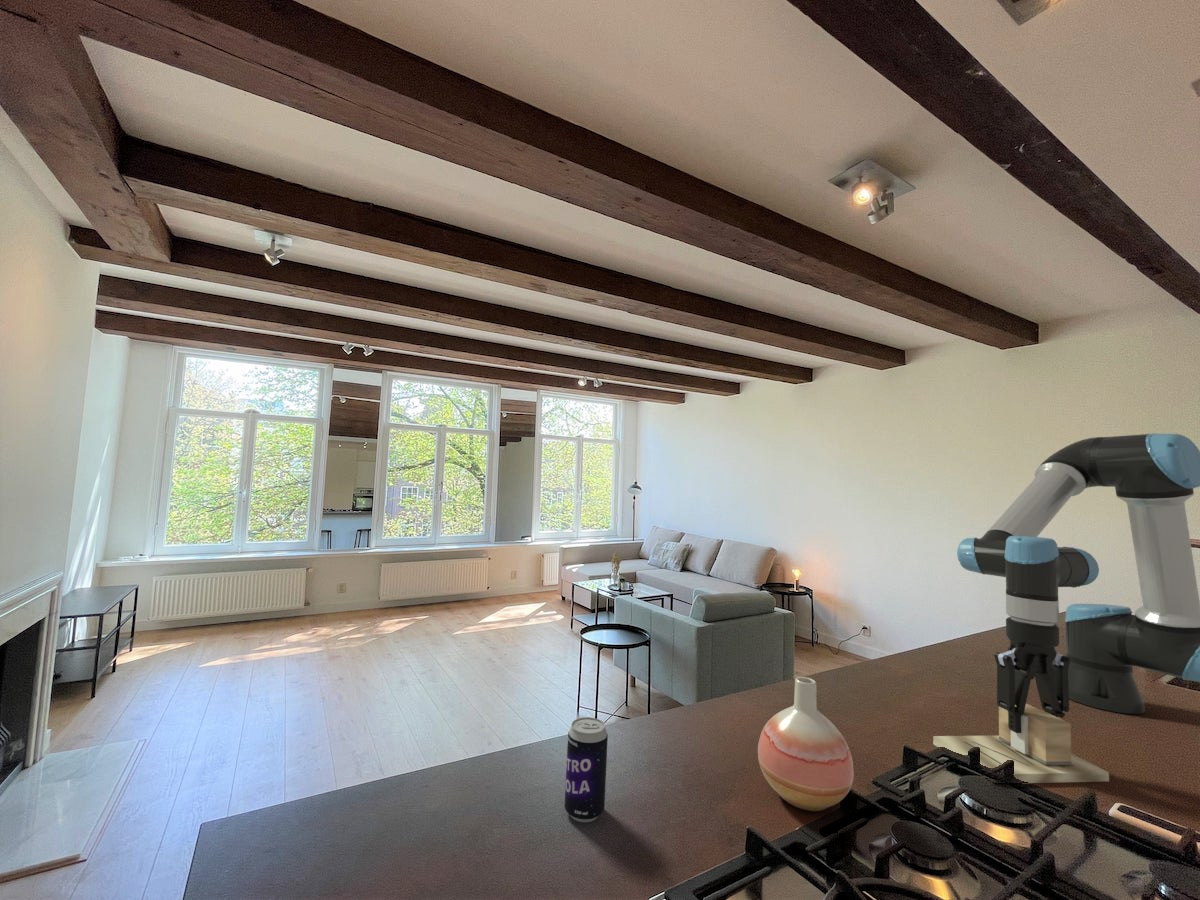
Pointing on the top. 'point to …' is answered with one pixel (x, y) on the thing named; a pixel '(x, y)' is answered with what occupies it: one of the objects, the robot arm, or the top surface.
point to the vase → (805, 753)
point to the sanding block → (1042, 736)
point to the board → (1023, 761)
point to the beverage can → (586, 769)
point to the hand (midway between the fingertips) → (1033, 749)
